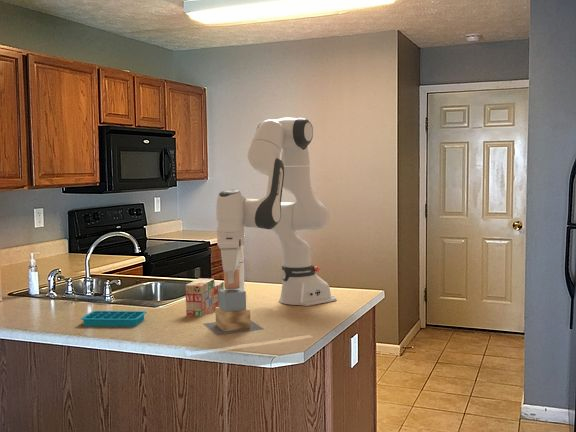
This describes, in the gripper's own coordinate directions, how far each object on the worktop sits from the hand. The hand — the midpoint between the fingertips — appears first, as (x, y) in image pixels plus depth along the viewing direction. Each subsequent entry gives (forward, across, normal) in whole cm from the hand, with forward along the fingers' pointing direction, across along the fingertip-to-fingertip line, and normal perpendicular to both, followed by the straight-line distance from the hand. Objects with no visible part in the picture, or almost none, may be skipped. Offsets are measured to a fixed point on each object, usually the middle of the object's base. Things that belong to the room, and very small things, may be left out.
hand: (231, 281), depth 209 cm
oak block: (+15, 0, 0) cm, 15 cm away
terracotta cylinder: (+2, 0, 0) cm, 2 cm away
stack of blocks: (+16, -26, -12) cm, 33 cm away
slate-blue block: (+9, 0, 0) cm, 9 cm away
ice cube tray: (+17, -12, -42) cm, 47 cm away
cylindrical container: (+16, -61, -3) cm, 63 cm away
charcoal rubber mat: (+16, 0, 0) cm, 16 cm away
